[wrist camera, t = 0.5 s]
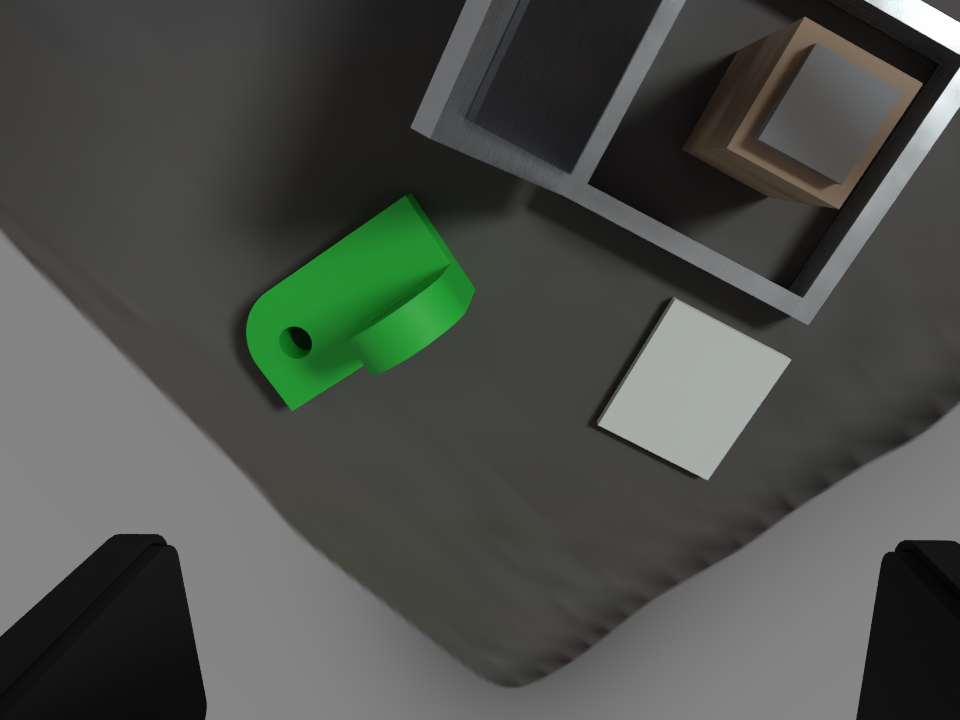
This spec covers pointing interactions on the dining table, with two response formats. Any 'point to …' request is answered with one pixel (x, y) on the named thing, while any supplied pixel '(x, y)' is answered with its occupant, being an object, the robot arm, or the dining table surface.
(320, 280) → the mechanical part
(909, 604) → the robot arm
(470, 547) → the dining table surface
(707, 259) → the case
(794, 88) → the block
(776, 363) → the mat
